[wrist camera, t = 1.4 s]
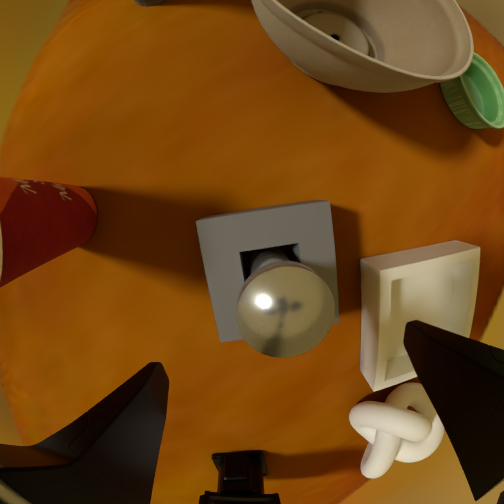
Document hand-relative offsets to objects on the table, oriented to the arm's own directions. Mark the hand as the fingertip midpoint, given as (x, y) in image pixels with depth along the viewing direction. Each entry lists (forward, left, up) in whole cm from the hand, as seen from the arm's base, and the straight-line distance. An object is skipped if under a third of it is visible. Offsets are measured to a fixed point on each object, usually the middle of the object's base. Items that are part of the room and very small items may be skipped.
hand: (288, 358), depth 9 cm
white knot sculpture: (-21, -12, -14) cm, 28 cm away
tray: (-7, -14, -14) cm, 21 cm away
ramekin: (+15, -25, -14) cm, 33 cm away
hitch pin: (0, 0, -14) cm, 14 cm away
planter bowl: (+19, -9, -14) cm, 26 cm away
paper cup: (+7, +17, -14) cm, 23 cm away
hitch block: (0, 0, -14) cm, 14 cm away
